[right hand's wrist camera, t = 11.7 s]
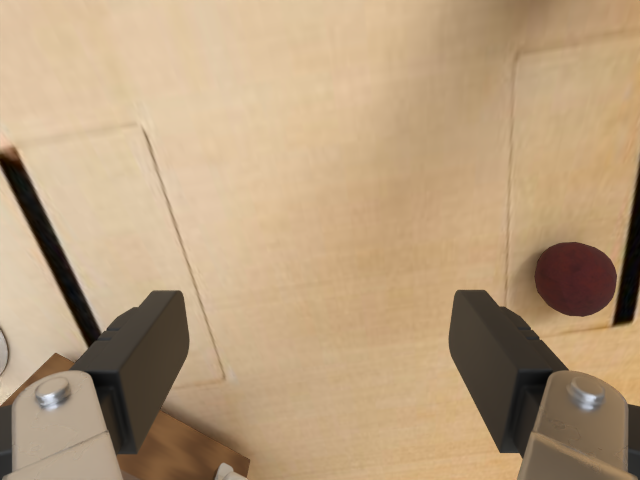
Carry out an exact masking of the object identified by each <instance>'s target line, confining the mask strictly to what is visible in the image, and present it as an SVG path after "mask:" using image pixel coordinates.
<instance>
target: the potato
mask: <svg viewBox="0 0 640 480" xmlns="http://www.w3.org/2000/svg"><path fill="white" fill-rule="evenodd" d="M616 280H617V274H616V270H615V267H614V265H613V263H612V261H611V260H610V259H609V258H608V256H607V255H606V254H605V253H603V252H602V251H600V250H598V249H597V248H595V247H592V246H588V245H585V244H582V243H577V242H569V243H559V244H556V245H554V246H552V247H549V248H548V249H547V250H546V251H545V252H544V253H543V254H542V255H541V257H540V259H539V260H538V263H537V267H536V272H535V282H536V288H537V291H538V293H539V294H540V295H541V297H542V298H543V299H544V300H545V302H546V303H547V304H548V305H549V306H550V307H552V308H553V309H555V310H557V311H559V312H561V313H563V314H565V315H569V316H582V317H583V316H588V315H592V314H594V313H596V312H598V311H600V310H601V309H603V308H604V307H605V306H607V304H608V303H609V302H610V301H611V299H612V298H613V296H614V293H615V288H616Z"/></svg>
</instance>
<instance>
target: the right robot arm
mask: <svg viewBox="0 0 640 480" xmlns="http://www.w3.org/2000/svg"><path fill="white" fill-rule="evenodd" d="M449 349H450V353H451V356H452V359H453V361H454V363H455V365H456V367H457V369H458V371H459V373H460V375H461V377H462V379H463V381H464V382H465V384H466V386H467V388H468V390H469V392H470V394H471V396H472V398H473V400H474V402H475V404H476V406H477V408H478V410H479V412H480V414H481V416H482V418H483V420H484V422H485V424H486V426H487V428H488V430H489V432H490V434H491V436H492V438H493V440H494V442H495V444H496V446H497V448H498V450H499V452H500V453H520V455H521V457H522V459H523V461H522V464H521V467H520V471H519V474H518V477H517V480H640V406H635V405H630V404H627V402H626V400H625V398H624V397H623V396H622V395H621V394H620V393H619V392H618V391H617V390H616V389H615V388H613V387H612V386H611V385H609V384H608V383H606V382H604V381H602V380H600V379H598V378H596V377H594V376H591V375H588V374H585V373H581V372H577V371H569V369H568V368H567V367H566V366H565V365H564V364H563V363H562V362H561V361H560V360H559V358H558V357H557V356H556V355H555V354H554V353H553V352H552V351H551V350H550V349H549V347H548V346H547V345H546V344H545V343H544V342H543V341H542V340H540V339H539V336H538V335H537V334H536V333H535V332H534V331H533V330H531V328H530V327H529V325H528V324H527V323H526V322H525V321H524V320H523V319H522V318H521V317H520V316H519V315H517V314H515V313H514V312H512V311H511V310H509V309H507V308H506V307H499V306H498V305H497V303H496V302H495V301H494V300H493V299H492V298H491V296H490V295H489V294H488V293H487V292H486V291H485V290H457V291H456V293H455V296H454V302H453V309H452V316H451V323H450V331H449ZM188 350H189V331H188V324H187V317H186V310H185V303H184V297H183V294H182V292H181V291H152V292H151V293H150V294H149V295H148V297H147V298H146V299H145V300H144V301H143V302H142V304H141V305H140V306H139V307H133V308H132V309H130V310H128V311H127V312H125V313H123V314H122V315H120V316H118V317H117V318H116V319H115V320H114V321H113V322H112V323H111V324H110V326H109V327H108V328H107V331H104V332H103V333H102V334H101V335H100V336H99V338H98V341H95V342H94V343H93V344H92V345H91V346H90V347H89V348H88V350H87V351H86V352H85V353H84V354H83V355H82V356H81V357H80V358H79V359H78V360H77V362H76V363H75V364H74V365H73V366H72V367H71V368H70V369H69V370H68V371H63V372H59V373H55V374H52V375H49V376H46V377H44V378H42V379H40V380H38V381H36V382H34V383H32V384H31V385H29V386H28V387H27V388H25V389H24V390H23V391H22V392H21V393H20V394H19V395H18V396H17V397H16V398H15V400H14V402H13V404H12V405H8V406H3V407H0V480H123V477H122V474H121V471H120V467H119V464H118V461H117V457H116V456H117V454H137V453H138V451H139V449H140V448H141V446H142V444H143V442H144V440H145V438H146V436H147V434H148V432H149V430H150V428H151V426H152V424H153V422H154V420H155V418H156V416H157V414H158V412H159V410H160V408H161V406H162V404H163V403H164V401H165V399H166V397H167V395H168V393H169V391H170V389H171V387H172V385H173V383H174V381H175V379H176V377H177V375H178V373H179V371H180V369H181V367H182V365H183V363H184V361H185V359H186V357H187V354H188Z"/></svg>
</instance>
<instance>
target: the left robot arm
mask: <svg viewBox="0 0 640 480" xmlns="http://www.w3.org/2000/svg"><path fill="white" fill-rule="evenodd" d="M7 358H8V350H7V344H6V341H5V338H4V336H3V334H2V332H1V330H0V374H1V373H2V372H3V370H4V369H5V366H6V363H7ZM212 480H249V479H247V478H245V477H243V476H242V475H240V474H238V473H235V472H233V468H232V467H231V466H229V465H227V464H226V463H222V464H221V465H220V466H219V467H218V468H217V469H216V470H215V472H214V476H213V479H212Z"/></svg>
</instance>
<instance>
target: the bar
mask: <svg viewBox="0 0 640 480" xmlns="http://www.w3.org/2000/svg"><path fill="white" fill-rule="evenodd" d="M74 364H75V363H74V362H72V361H70V360H68V359H66V358H64V357H63V356H61V355H59V354H57V353H55V354H54V355H53V356H52V357H50V358H49V359H48V360H47V361H46V362H45V363H44V364H43V365H42V366H41V367H40V368H39V369H38V370H37V371H36V372H35V373H34V374H33V375H32V376H31V377H30V378H29V379H28V380H27V381H26V382H25V383H24V384H23V385H22V386H21V387H19V388H18V389H17V390H16V391H15V392H14V393H13V394H12V395H11V396H10V397H9V398H8V399H7V400H6V401H5V402H4V403H3V404H2V405H1V406H0V407H3V406H8V405H12V404H13V402H14V400H15V398H16V397H17V396H18V395H19V394H20V393H21V392H22V391H23V390H24V389H25V388H27V387H28V386H29V385H31V384H32V383H34V382H36V381H38V380H40V379H42V378H44V377H46V376H49V375H52V374H55V373H59V372H63V371H68V370H69V369H70V368H71V367H72V366H73V365H74ZM116 457H117V461H118V464H119V467H120V471H121V474H122V477H123V480H212V479H213V476H214V472H215V470H216V469H217V468H218V467H219V466H220V465H221V464H222V463H226V464H227V465H229V466H231V467H232V468H233V472H235V473H238V474H240V475H242V476H243V477H245V478H247V473H248V468H249V463H250V460H249V459H248V458H246V457H244V456H242V455H240V454H239V453H237V452H235V451H233V450H231V449H230V448H228V447H226V446H224V445H222V444H220V443H219V442H217V441H215V440H213V439H211V438H210V437H208V436H206V435H204V434H202V433H200V432H199V431H197V430H195V429H193V428H191V427H190V426H188V425H186V424H184V423H182V422H181V421H179V420H177V419H175V418H173V417H171V416H170V415H168V414H166V413H164V412H162V411H161V410H159V412H158V414H157V416H156V418H155V420H154V422H153V424H152V426H151V428H150V430H149V432H148V434H147V436H146V438H145V440H144V442H143V444H142V446H141V448H140V449H139V451H138V453H137V454H117V456H116Z"/></svg>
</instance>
